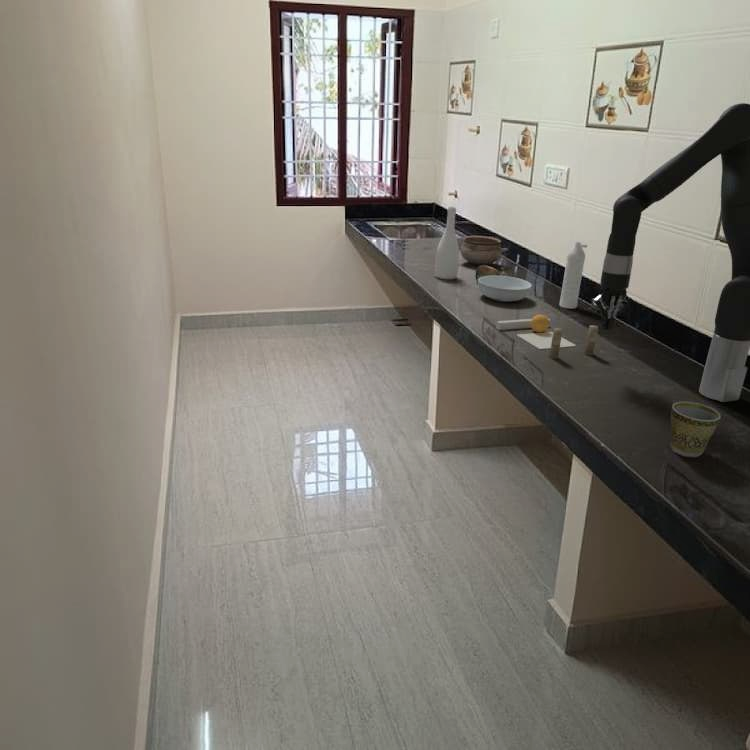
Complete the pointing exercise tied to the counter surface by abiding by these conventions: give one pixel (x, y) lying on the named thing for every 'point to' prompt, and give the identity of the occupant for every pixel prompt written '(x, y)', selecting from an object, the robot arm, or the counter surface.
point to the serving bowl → (504, 288)
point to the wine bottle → (448, 250)
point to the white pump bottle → (572, 276)
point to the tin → (485, 271)
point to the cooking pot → (481, 250)
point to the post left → (555, 343)
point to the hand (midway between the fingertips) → (606, 329)
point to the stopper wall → (514, 324)
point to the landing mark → (543, 340)
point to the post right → (591, 340)
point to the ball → (539, 323)
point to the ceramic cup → (692, 427)
